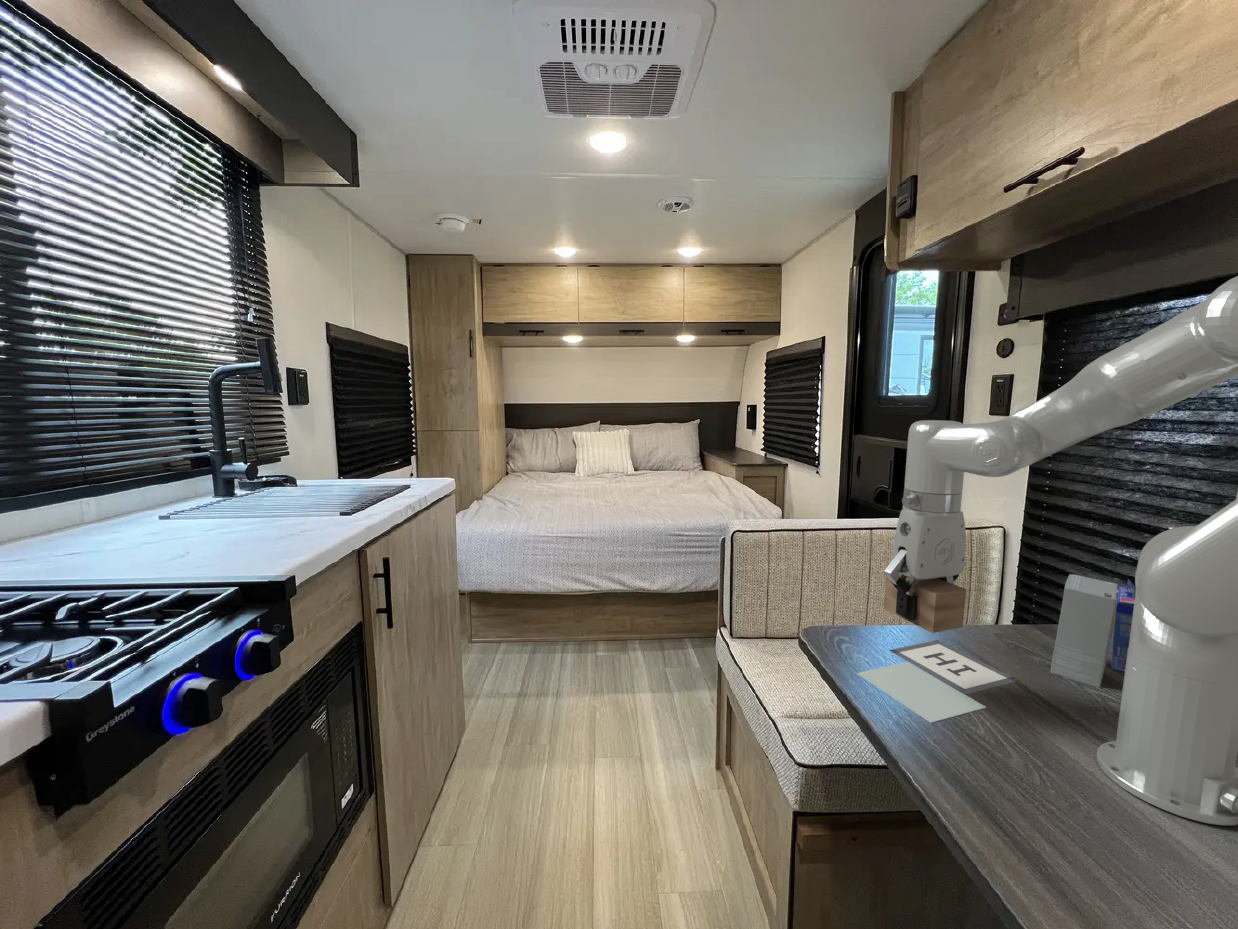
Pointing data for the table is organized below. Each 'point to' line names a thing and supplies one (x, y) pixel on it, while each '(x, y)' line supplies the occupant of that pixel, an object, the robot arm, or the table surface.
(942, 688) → the sage mat
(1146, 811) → the table surface
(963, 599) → the walnut block
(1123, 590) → the ink cartridge box
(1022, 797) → the table surface
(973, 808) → the table surface
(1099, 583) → the skincare box
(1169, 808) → the robot arm
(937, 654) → the grey framed panel
